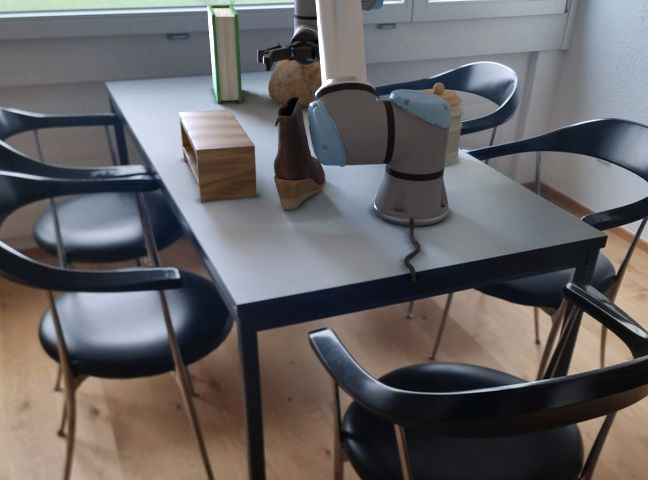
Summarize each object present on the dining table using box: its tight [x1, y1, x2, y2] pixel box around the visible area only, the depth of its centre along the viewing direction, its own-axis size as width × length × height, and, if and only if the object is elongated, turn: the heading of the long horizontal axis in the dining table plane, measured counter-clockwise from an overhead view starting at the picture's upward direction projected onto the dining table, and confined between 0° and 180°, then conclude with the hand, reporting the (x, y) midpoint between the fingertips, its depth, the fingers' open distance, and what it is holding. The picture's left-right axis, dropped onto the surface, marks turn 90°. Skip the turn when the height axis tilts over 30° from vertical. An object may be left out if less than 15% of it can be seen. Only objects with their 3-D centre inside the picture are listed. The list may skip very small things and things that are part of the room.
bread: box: [267, 60, 322, 108], centre depth 208 cm, size 26×23×15 cm
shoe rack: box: [178, 108, 258, 203], centre depth 155 cm, size 28×12×11 cm, turn 17°
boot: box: [273, 97, 326, 211], centre depth 145 cm, size 9×24×20 cm, turn 168°
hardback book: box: [206, 4, 243, 105], centre depth 208 cm, size 18×7×24 cm, turn 12°
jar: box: [421, 82, 465, 166], centre depth 165 cm, size 13×13×18 cm
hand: (298, 65), depth 151 cm, fingers open, 13 cm apart
